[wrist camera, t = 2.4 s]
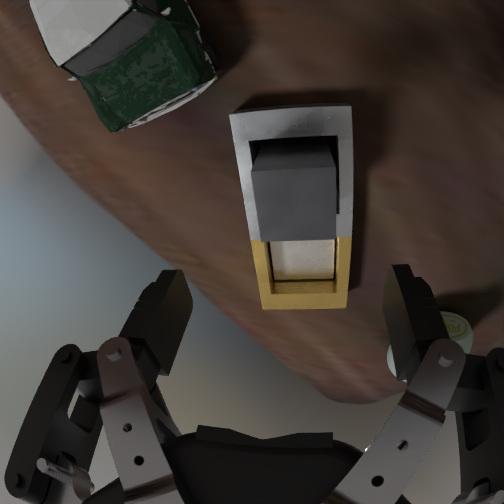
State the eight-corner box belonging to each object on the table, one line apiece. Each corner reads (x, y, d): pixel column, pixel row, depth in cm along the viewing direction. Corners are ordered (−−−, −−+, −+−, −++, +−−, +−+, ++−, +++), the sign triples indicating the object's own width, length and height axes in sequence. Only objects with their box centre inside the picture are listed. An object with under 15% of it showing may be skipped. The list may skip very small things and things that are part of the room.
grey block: (325, 138, 20) (335, 167, 15) (328, 194, 23) (336, 239, 17) (263, 141, 21) (250, 171, 16) (270, 196, 23) (261, 241, 18)
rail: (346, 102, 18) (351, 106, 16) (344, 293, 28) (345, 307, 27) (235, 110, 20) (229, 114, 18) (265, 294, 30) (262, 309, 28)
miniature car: (136, 130, 22) (77, 165, 15) (67, -19, 12) (4, -23, 6) (233, 83, 19) (198, 93, 12) (149, -77, 10) (95, -108, 3)
